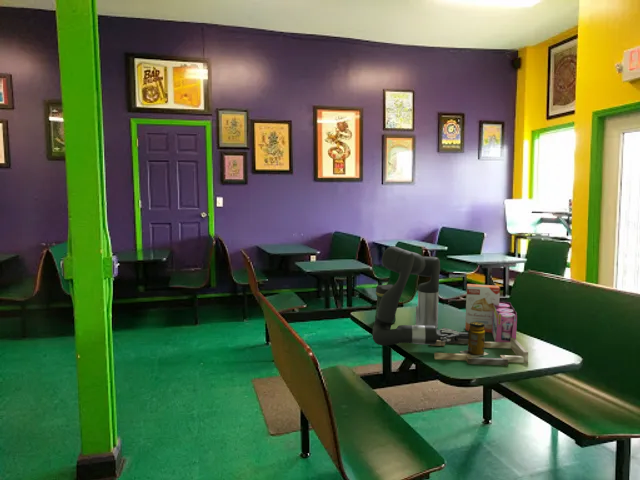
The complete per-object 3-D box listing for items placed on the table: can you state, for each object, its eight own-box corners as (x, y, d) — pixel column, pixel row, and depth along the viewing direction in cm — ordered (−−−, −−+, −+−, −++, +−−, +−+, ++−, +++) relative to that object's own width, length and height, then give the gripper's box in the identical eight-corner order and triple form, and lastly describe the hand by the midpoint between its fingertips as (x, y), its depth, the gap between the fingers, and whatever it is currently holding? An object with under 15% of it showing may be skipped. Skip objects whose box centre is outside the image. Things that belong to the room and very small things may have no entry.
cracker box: (465, 331, 204) (466, 285, 202) (465, 327, 209) (466, 283, 207) (498, 333, 200) (500, 287, 198) (497, 329, 205) (498, 285, 203)
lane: (436, 362, 165) (436, 352, 165) (428, 341, 189) (428, 332, 189) (531, 366, 161) (531, 355, 161) (511, 344, 185) (511, 335, 185)
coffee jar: (380, 325, 213) (380, 287, 211) (372, 321, 220) (373, 284, 218) (398, 323, 216) (398, 285, 214) (390, 319, 223) (390, 282, 222)
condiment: (489, 354, 174) (490, 324, 173) (474, 358, 170) (475, 327, 169) (474, 348, 180) (474, 319, 179) (459, 352, 176) (460, 322, 175)
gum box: (516, 348, 180) (518, 315, 179) (495, 346, 182) (497, 314, 181) (509, 331, 203) (510, 302, 202) (490, 329, 205) (491, 300, 204)
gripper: (425, 330, 170) (472, 331, 168) (421, 320, 183) (465, 321, 181) (425, 349, 171) (472, 351, 169) (421, 338, 184) (465, 339, 182)
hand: (468, 335), depth 175 cm, fingers closed
